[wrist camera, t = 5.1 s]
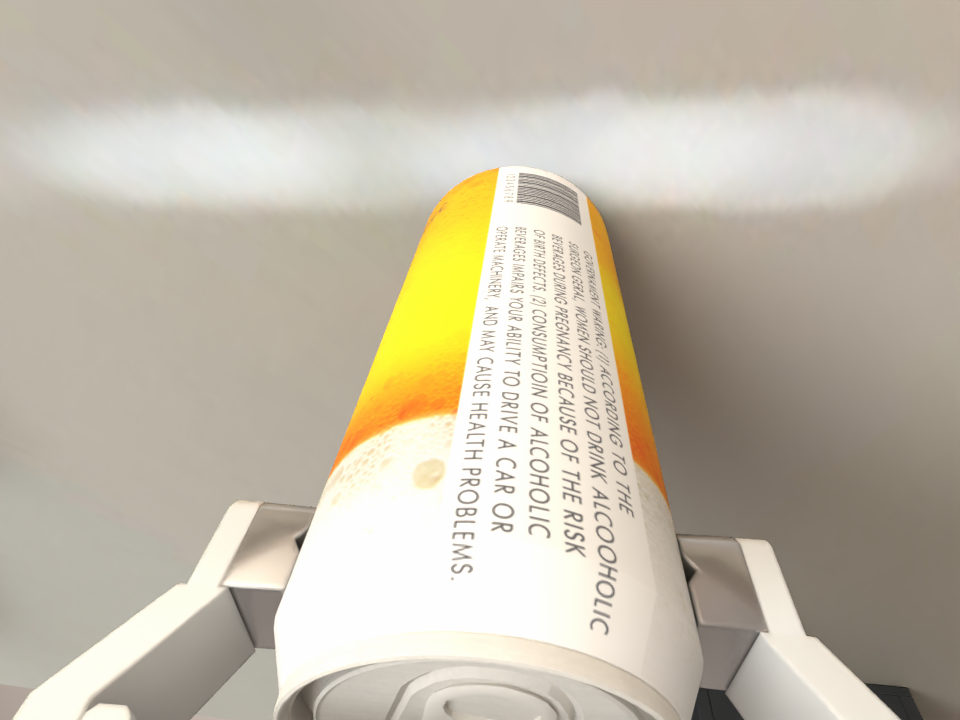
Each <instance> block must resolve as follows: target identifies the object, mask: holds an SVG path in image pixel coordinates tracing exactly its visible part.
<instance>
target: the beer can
mask: <svg viewBox="0 0 960 720" xmlns="http://www.w3.org/2000/svg"><path fill="white" fill-rule="evenodd" d="M274 638H275V649H276V661H277V672H278V684H279V697H278V700H277V703H276V706H275V709H274V715H273V720H691V718H692V714H693V710H694V706H695V702H696V698H697V694H698V690H699V686H700V682H701V678H702V674H703V655H702V649H701V645H700V640H699V636H698V631H697V627H696V622H695V618H694V614H693V609H692V605H691V600H690V596H689V592H688V587H687V583H686V578H685V574H684V569H683V565H682V561H681V556H680V552H679V547H678V543H677V539H676V534H675V530H674V525H673V521H672V516H671V512H670V508H669V503H668V499H667V494H666V490H665V485H664V481H663V477H662V472H661V468H660V463H659V459H658V455H657V450H656V446H655V441H654V437H653V432H652V428H651V424H650V419H649V415H648V410H647V406H646V402H645V397H644V393H643V388H642V384H641V379H640V375H639V371H638V366H637V362H636V357H635V353H634V349H633V344H632V340H631V335H630V331H629V326H628V322H627V318H626V313H625V309H624V304H623V300H622V295H621V291H620V287H619V282H618V278H617V273H616V269H615V265H614V260H613V256H612V251H611V247H610V242H609V238H608V234H607V230H606V227H605V224H604V222H603V220H602V218H601V215H600V213H599V212H598V210H597V209H596V207H595V206H594V204H593V203H592V202H591V201H590V199H589V198H588V197H587V196H586V195H585V194H584V193H583V192H582V191H581V190H580V189H578V188H577V187H576V186H574V185H573V184H572V183H570V182H569V181H567V180H565V179H563V178H561V177H560V176H558V175H555V174H552V173H550V172H547V171H544V170H540V169H536V168H529V167H515V166H511V167H500V168H495V169H491V170H487V171H484V172H481V173H478V174H475V175H473V176H471V177H469V178H467V179H465V180H464V181H462V182H461V183H459V184H458V185H456V186H455V187H454V188H453V189H451V190H450V191H449V192H448V193H447V194H446V195H445V196H444V197H443V198H442V199H441V200H440V202H439V203H438V204H437V206H436V207H435V209H434V210H433V212H432V214H431V216H430V218H429V220H428V222H427V225H426V228H425V230H424V233H423V235H422V238H421V240H420V243H419V246H418V248H417V251H416V253H415V256H414V259H413V261H412V264H411V266H410V269H409V271H408V274H407V277H406V279H405V282H404V284H403V287H402V290H401V292H400V295H399V297H398V300H397V303H396V305H395V308H394V310H393V313H392V315H391V318H390V321H389V323H388V326H387V328H386V331H385V334H384V336H383V339H382V341H381V344H380V346H379V349H378V352H377V354H376V357H375V359H374V362H373V365H372V367H371V370H370V372H369V375H368V377H367V380H366V383H365V385H364V388H363V390H362V393H361V396H360V398H359V401H358V403H357V406H356V408H355V411H354V414H353V416H352V419H351V421H350V424H349V427H348V429H347V432H346V434H345V437H344V439H343V442H342V445H341V447H340V450H339V452H338V455H337V458H336V460H335V463H334V465H333V468H332V470H331V473H330V476H329V478H328V481H327V483H326V486H325V489H324V491H323V494H322V496H321V499H320V501H319V504H318V507H317V509H316V512H315V514H314V517H313V520H312V522H311V525H310V527H309V530H308V532H307V535H306V538H305V540H304V543H303V545H302V548H301V551H300V553H299V556H298V558H297V561H296V563H295V566H294V569H293V571H292V574H291V576H290V579H289V582H288V584H287V587H286V589H285V592H284V594H283V597H282V600H281V602H280V605H279V607H278V610H277V613H276V615H275V622H274Z"/></svg>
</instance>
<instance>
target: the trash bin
mask: <svg viewBox="0 0 960 720" xmlns="http://www.w3.org/2000/svg"><path fill="white" fill-rule="evenodd" d="M865 685H866V686H867V687H868V688H869V689H870V690H871V691H872V692H873V693H874V694H875V695H876V696H877V697H878V698H879V699H880V700H881V701H882V702H883V703H885V704H886V705H887V706H888V707H889V708H890V709H891V710H892V711H893V712H894V713H895V714H896V715H897V716H898V717H899V718H900V719H901V720H923V718H922V716H921V714H920V712H919V710H918V708H917V706H916V704H915V702H914V700H913V698H912V696H911V693H910V691H909V689H908V688H903V687H892V686H881V685H869V684H865ZM725 693H726V691H725V690H716V689H708V688H699V690H698V694H697V698H696V702H695V706H694V710H693V714H692V718H691V720H744V719H743V717H742V716H741V715H740V713H739V712H738V710H737V709H736V708H735V706H734V705H733V704H732V702H731V701H730V699H729V698H728V697H727V695H726V694H725Z"/></svg>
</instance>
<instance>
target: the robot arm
mask: <svg viewBox="0 0 960 720" xmlns="http://www.w3.org/2000/svg"><path fill="white" fill-rule="evenodd" d="M316 509H317V508H316V507H306V506H295V505H285V504H275V503H266V502H254V501H242V500H236V501H235V502H234V503H233V504H232V505H231V506H230V507H229V508H228V510H227V512H226V513H225V515H224V517H223V519H222V521H221V523H220V524H219V526H218V528H217V530H216V532H215V534H214V535H213V537H212V539H211V541H210V543H209V545H208V546H207V548H206V550H205V552H204V554H203V556H202V557H201V559H200V561H199V563H198V565H197V567H196V568H195V570H194V572H193V574H192V576H191V577H190V579H189V581H188V583H178V584H177V585H175V586H174V587H173V588H171V589H170V590H169V591H167V592H166V593H165V594H163V595H162V596H161V597H159V598H158V599H156V600H155V601H154V602H152V603H151V604H150V605H148V606H147V607H146V608H144V609H143V610H142V611H140V612H139V613H138V614H136V615H135V616H133V617H132V618H131V619H129V620H128V621H127V622H125V623H124V624H123V625H121V626H120V627H119V628H117V629H116V630H115V631H113V632H112V633H111V634H109V635H108V636H106V637H105V638H104V639H102V640H101V641H100V642H98V643H97V644H96V645H94V646H93V647H92V648H90V649H89V650H88V651H86V652H85V653H84V654H82V655H81V656H79V657H78V658H77V659H75V660H74V661H73V662H71V663H70V664H69V665H67V666H66V667H65V668H63V669H62V670H61V671H59V672H58V673H56V674H55V675H54V676H52V677H51V678H50V679H48V680H47V681H46V682H44V683H43V684H42V685H40V686H39V687H38V688H36V689H35V690H34V691H32V692H31V693H30V694H29V696H28V697H27V699H26V700H25V702H24V703H23V704H22V706H21V707H20V709H19V710H18V712H17V713H16V715H15V716H14V718H13V719H12V720H190V719H191V718H192V717H193V716H194V715H195V714H196V713H197V712H198V711H199V710H200V709H201V708H202V707H203V706H204V705H205V704H206V703H207V702H208V701H209V699H210V698H211V697H212V696H213V695H214V694H215V693H216V692H217V691H218V690H219V689H220V688H221V687H222V686H223V685H224V684H225V683H226V682H227V681H228V680H229V678H230V677H231V676H232V675H233V674H234V673H235V672H236V671H237V670H238V669H239V668H240V667H241V666H242V665H243V664H244V663H245V662H246V661H247V660H248V659H249V657H250V656H251V655H252V654H253V653H254V652H255V648H265V649H275V638H274V622H275V615H276V613H277V610H278V607H279V605H280V602H281V600H282V597H283V594H284V592H285V589H286V587H287V584H288V582H289V579H290V576H291V574H292V571H293V569H294V566H295V563H296V561H297V558H298V556H299V553H300V551H301V548H302V545H303V543H304V540H305V538H306V535H307V532H308V530H309V527H310V525H311V522H312V520H313V517H314V514H315V512H316ZM676 539H677V543H678V547H679V552H680V556H681V561H682V565H683V569H684V574H685V578H686V583H687V587H688V592H689V596H690V600H691V605H692V609H693V614H694V618H695V622H696V627H697V631H698V636H699V640H700V645H701V649H702V655H703V674H702V678H701V682H700V686H699V688H708V689H716V690H725V691H726V693H725V694H726V695H727V697H728V698H729V699H730V701H731V702H732V704H733V705H734V706H735V708H736V709H737V710H738V712H739V713H740V715H741V716H742V717H743V719H744V720H901V719H900V718H899V717H898V716H897V715H896V714H895V713H894V712H893V711H892V710H891V709H890V708H889V707H888V706H887V705H886V704H885V703H883V702H882V701H881V700H880V699H879V698H878V697H877V696H876V695H875V694H874V693H873V692H872V691H871V690H870V689H869V688H868V687H867V686H866V685H865V684H864V683H863V682H862V681H861V680H860V679H859V678H858V677H857V676H856V675H855V674H854V673H853V672H852V671H851V670H850V669H849V668H848V667H847V666H845V665H844V664H843V663H842V662H841V661H840V660H839V659H838V658H837V657H836V656H835V655H834V654H833V653H832V652H831V651H830V650H829V649H828V648H827V647H826V646H825V645H824V644H823V643H822V642H821V641H820V640H819V639H818V638H817V637H811V636H806V633H805V631H804V628H803V626H802V623H801V620H800V618H799V615H798V613H797V610H796V608H795V605H794V602H793V600H792V597H791V595H790V592H789V589H788V587H787V584H786V582H785V579H784V577H783V574H782V571H781V569H780V566H779V564H778V561H777V559H776V556H775V553H774V551H773V548H772V546H771V545H770V544H769V543H768V542H767V541H765V540H756V539H740V538H732V537H723V536H706V535H690V534H676Z"/></svg>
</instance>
